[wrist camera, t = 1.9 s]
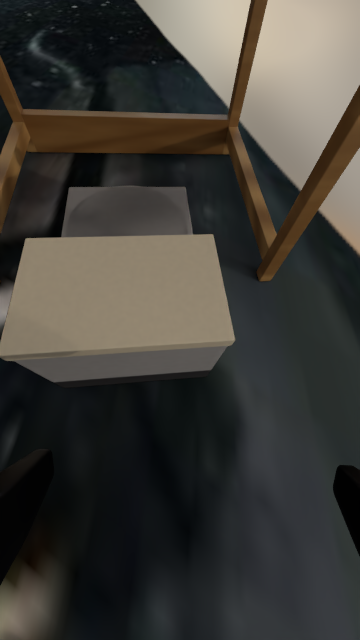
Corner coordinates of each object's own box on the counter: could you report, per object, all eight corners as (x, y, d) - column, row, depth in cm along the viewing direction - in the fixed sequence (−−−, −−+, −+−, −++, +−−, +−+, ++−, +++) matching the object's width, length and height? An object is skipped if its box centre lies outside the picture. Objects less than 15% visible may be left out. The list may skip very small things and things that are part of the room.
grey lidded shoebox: (61, 389, 18) (-4, 356, 11) (80, 232, 25) (47, 148, 18) (208, 377, 19) (235, 340, 12) (186, 230, 26) (195, 150, 19)
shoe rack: (270, 281, 24) (535, -113, 7) (-16, 293, 22) (-718, -291, 4) (229, 149, 34) (297, -150, 17) (28, 146, 31) (-134, -212, 14)
